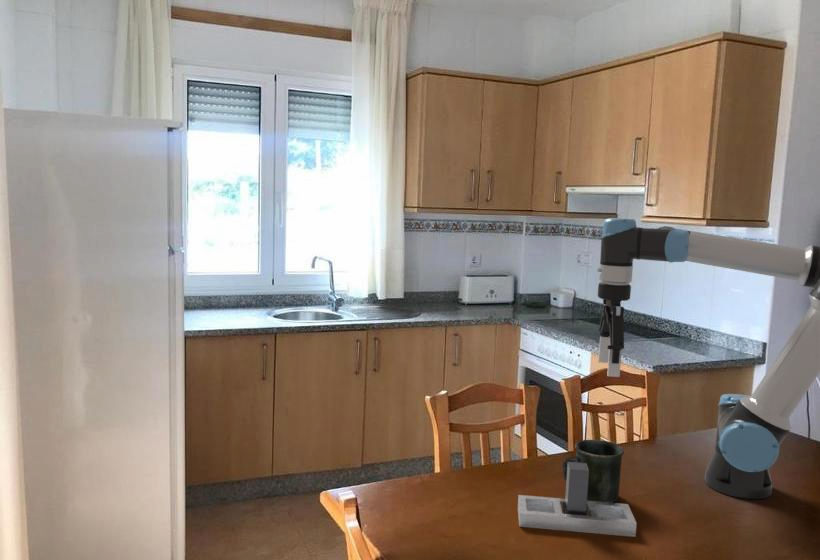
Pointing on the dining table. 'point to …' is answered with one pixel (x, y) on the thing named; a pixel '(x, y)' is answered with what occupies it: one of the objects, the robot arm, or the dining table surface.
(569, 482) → the steel peg
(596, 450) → the mug
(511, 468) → the dining table surface
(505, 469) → the dining table surface
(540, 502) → the white peg holder tray
